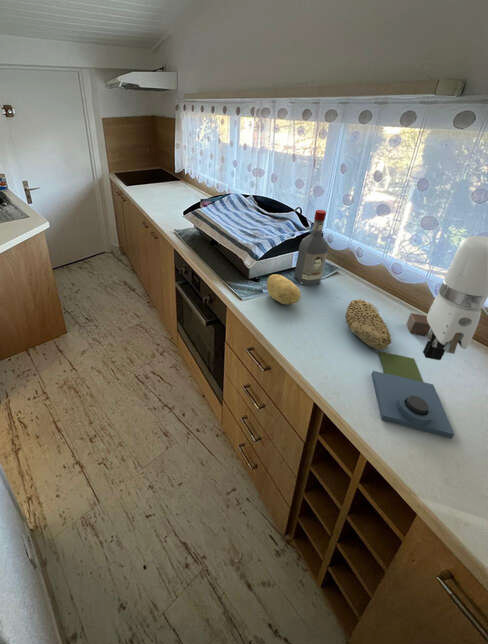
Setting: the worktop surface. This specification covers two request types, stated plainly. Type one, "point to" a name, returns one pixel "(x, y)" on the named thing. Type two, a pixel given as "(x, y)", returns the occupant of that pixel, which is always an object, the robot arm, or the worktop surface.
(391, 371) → the pad
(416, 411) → the button
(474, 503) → the worktop surface
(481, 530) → the worktop surface
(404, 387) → the box
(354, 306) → the sponge
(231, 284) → the worktop surface
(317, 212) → the liquor
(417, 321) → the block
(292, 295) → the potato
